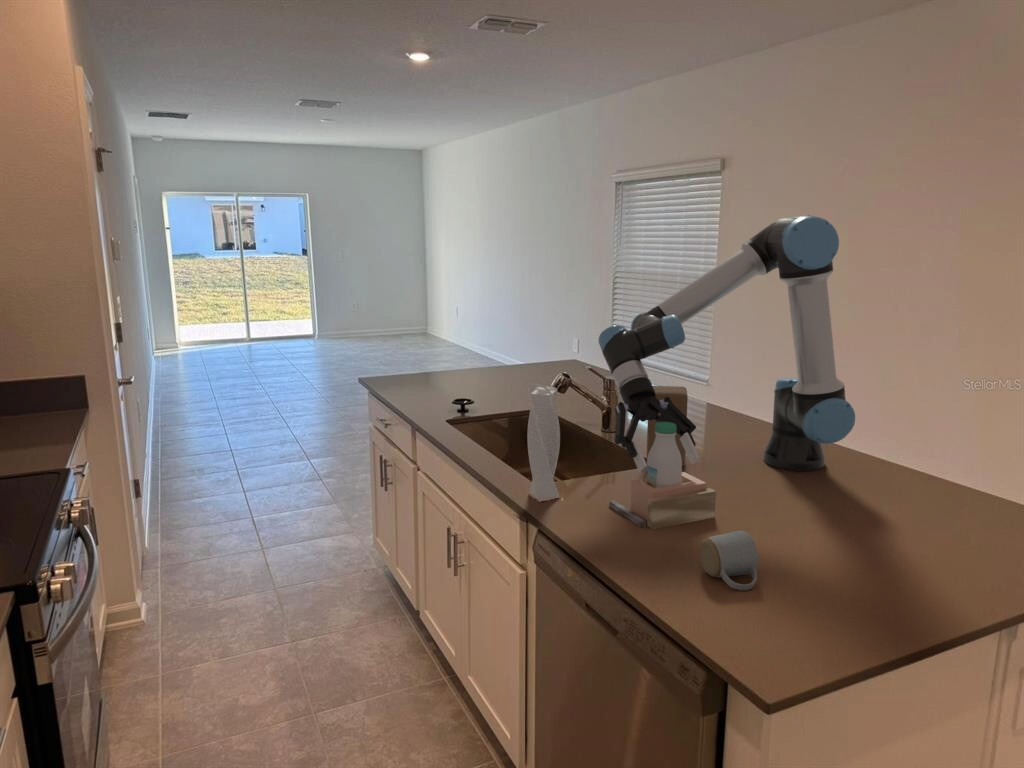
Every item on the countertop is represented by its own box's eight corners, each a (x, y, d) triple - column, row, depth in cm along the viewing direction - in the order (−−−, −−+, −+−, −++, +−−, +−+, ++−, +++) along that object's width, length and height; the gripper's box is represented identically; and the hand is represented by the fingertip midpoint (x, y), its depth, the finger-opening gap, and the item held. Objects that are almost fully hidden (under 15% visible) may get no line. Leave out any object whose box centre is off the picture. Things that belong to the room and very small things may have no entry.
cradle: (630, 510, 154) (631, 480, 153) (682, 500, 160) (684, 471, 158) (651, 523, 147) (651, 492, 146) (704, 513, 152) (706, 483, 151)
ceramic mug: (695, 567, 129) (698, 528, 127) (735, 561, 131) (737, 523, 129) (726, 595, 119) (729, 554, 117) (768, 589, 121) (772, 548, 119)
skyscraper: (536, 505, 159) (535, 386, 153) (520, 495, 165) (519, 380, 159) (565, 499, 162) (566, 382, 157) (549, 489, 169) (549, 376, 163)
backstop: (609, 505, 158) (609, 481, 157) (679, 493, 165) (680, 469, 164) (646, 530, 144) (646, 503, 143) (720, 515, 152) (722, 489, 150)
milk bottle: (681, 505, 158) (685, 420, 153) (678, 518, 150) (682, 429, 146) (647, 501, 160) (650, 418, 156) (642, 514, 153) (645, 427, 149)
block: (684, 467, 183) (687, 394, 179) (646, 465, 185) (648, 392, 181) (684, 456, 193) (686, 385, 188) (647, 454, 195) (649, 384, 191)
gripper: (671, 388, 169) (708, 465, 159) (581, 398, 160) (613, 481, 149) (685, 370, 163) (724, 449, 153) (592, 380, 154) (627, 464, 143)
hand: (670, 465), depth 151 cm, fingers open, 13 cm apart
